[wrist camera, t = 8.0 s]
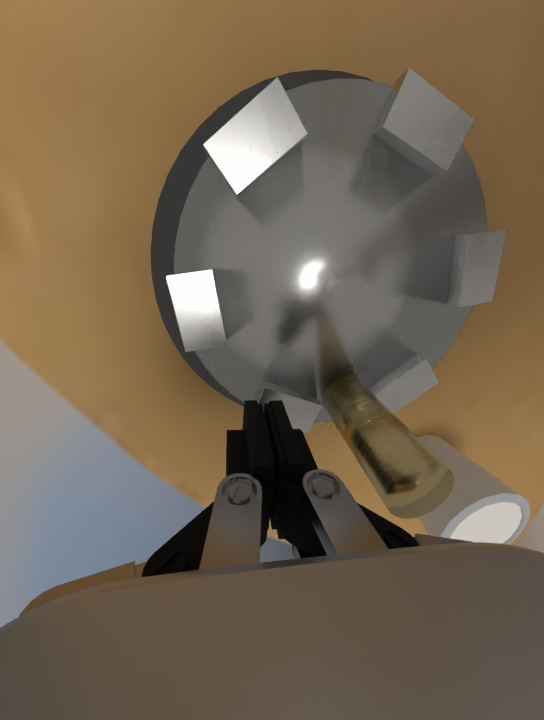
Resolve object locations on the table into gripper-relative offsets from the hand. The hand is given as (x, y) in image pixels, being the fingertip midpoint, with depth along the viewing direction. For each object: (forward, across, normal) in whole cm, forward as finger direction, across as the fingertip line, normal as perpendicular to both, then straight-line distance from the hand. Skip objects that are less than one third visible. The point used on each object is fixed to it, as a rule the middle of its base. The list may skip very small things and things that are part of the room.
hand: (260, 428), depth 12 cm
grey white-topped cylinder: (+8, -16, +9) cm, 20 cm away
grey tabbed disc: (+5, -4, -6) cm, 9 cm away
